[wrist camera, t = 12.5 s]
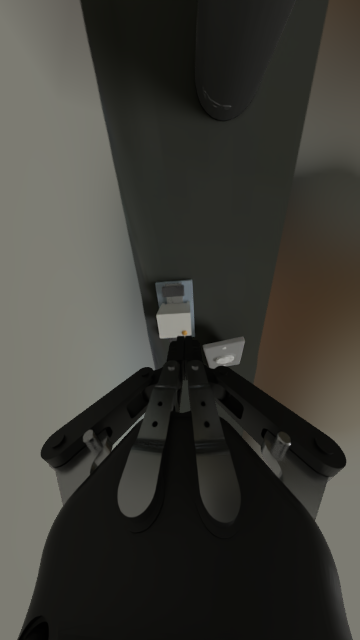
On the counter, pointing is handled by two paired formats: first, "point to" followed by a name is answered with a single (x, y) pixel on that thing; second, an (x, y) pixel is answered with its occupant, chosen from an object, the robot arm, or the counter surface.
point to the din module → (174, 320)
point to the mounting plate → (187, 297)
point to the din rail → (174, 299)
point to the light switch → (224, 352)
